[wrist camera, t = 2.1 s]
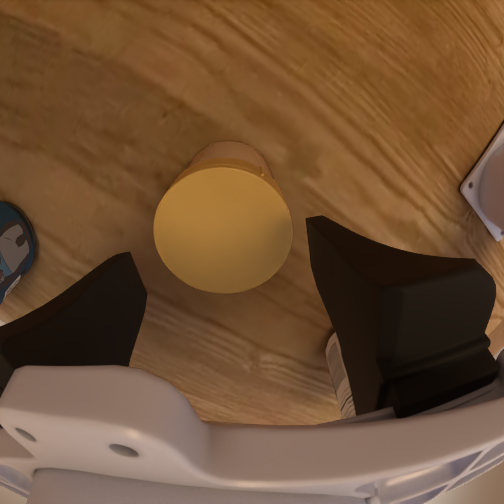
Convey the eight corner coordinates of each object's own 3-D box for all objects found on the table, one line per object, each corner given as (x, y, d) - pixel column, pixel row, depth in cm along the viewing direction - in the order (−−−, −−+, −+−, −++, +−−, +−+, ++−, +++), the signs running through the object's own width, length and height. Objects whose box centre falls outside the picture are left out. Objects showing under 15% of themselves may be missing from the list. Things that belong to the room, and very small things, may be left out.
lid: (204, 130, 13) (198, 137, 11) (313, 201, 15) (322, 217, 13) (142, 235, 15) (131, 254, 14) (242, 290, 17) (242, 312, 15)
